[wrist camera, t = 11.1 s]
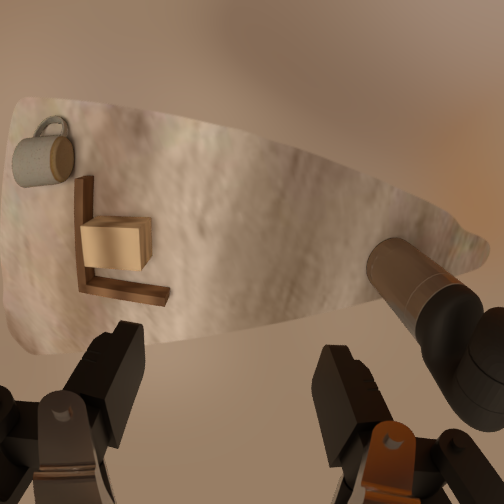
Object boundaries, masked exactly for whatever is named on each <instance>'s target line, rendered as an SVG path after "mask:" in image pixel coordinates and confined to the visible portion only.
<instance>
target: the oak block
mask: <svg viewBox="0 0 504 504" xmlns="http://www.w3.org/2000/svg"><path fill="white" fill-rule="evenodd" d="M80 228H81V239H82V249H83V257H84V265H85V267H97V268H109V269H121V270H134V271H142V269H143V268H144V266H145V265H146V264H147V262H148V261H149V259H150V258H151V257H152V236H151V218H149V217H119V216H97V217H95V218H93V219H91V220H90V221H88V222H86V223H85V224H83V225H82V226H80Z"/></svg>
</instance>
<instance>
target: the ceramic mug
mask: <svg viewBox="0 0 504 504" xmlns="http://www.w3.org/2000/svg"><path fill="white" fill-rule="evenodd" d="M50 123H59V124H60V123H62V132H61V135H60V136H58V135H53V136H46V137H40V135H41V133H42V131H43V130H44V128H45V127H46V126H47V125H48V124H50ZM66 136H67V124H66V122H65V121H64V120H63V119H62V118H61V117H58V116H50V117H48V118H46V119H44V120H43V121H42V122H41V123H40V124H39V126H38V127H37V129H36V131H35V133H34V135H33V138H26V139H23V140H21V141H20V142H19V143H18V145H17V146H16V148H15V151H14V154H13V158H12V172H13V176H14V179H15V181H16V182H17V184H18V185H20V186H21V187H24V188H27V187H35V186H43V185H54V184H58V183H62V182H64V181H66V180H67V178H68V177H69V176H70V174H71V171H72V168H73V163H74V153H73V148H72V145H71V143H70V141H69V140H68V139H67V138H66Z"/></svg>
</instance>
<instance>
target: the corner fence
mask: <svg viewBox="0 0 504 504" xmlns="http://www.w3.org/2000/svg"><path fill="white" fill-rule="evenodd" d="M93 183H94V176H82V177H79V178H76V179H75V187H74V224H75V249H76V265H77V277H78V287H79V292H82V293H87V294H92V295H98V296H103V297H108V298H114V299H120V300H126V301H131V302H137V303H144V304H150V305H156V306H163V307H165V305H166V303H167V300H168V298H169V293H170V288H168V287H161V286H155V285H148V284H141V283H135V282H128V281H122V280H116V279H110V278H103V277H98V276H95V273H94V267H85V265H84V257H83V249H82V239H81V228H80V226H82V225H83V224H85V223H86V222H88V221H90V220H91V219H93Z"/></svg>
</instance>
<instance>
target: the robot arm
mask: <svg viewBox="0 0 504 504" xmlns="http://www.w3.org/2000/svg"><path fill="white" fill-rule="evenodd" d="M367 276H368V279H369V281H370V282H371V284H372V285H373V286H374V287H375V288H376V290H377V291H378V292H379V294H380V295H381V296H382V297H383V299H384V300H385V301H386V302H387V303H388V305H389V306H390V307H391V308H392V310H393V311H394V312H395V313H396V315H397V316H398V317H399V318H400V320H401V321H402V323H403V324H404V325H405V327H406V328H407V329H408V330H409V331H410V333H411V334H412V335H413V337H414V338H415V339H416V341H417V342H418V343H419V345H420V346H421V352H422V357H423V360H424V362H425V364H426V366H427V368H428V369H429V371H430V372H431V374H432V376H433V378H434V379H435V381H436V383H437V385H438V386H439V388H440V390H441V391H442V393H443V395H444V397H445V399H446V400H447V402H448V404H449V405H450V406H451V408H452V409H453V411H454V412H455V413H456V414H457V415H458V416H459V418H460V419H461V420H462V421H464V422H465V423H466V424H468V425H469V426H470V427H472V428H474V429H476V430H479V431H483V432H495V431H499V430H501V429H502V428H504V308H503V307H495V308H491V309H489V310H488V311H486V312H485V313H484V310H483V305H482V302H481V301H480V298H479V297H478V296H477V295H476V294H475V293H474V292H473V291H472V290H471V289H469V288H468V287H467V286H465V285H464V284H463V283H462V282H460V281H459V280H458V279H456V278H455V277H454V276H453V275H451V274H450V273H449V272H447V271H446V270H445V269H443V268H442V267H441V266H439V265H438V264H437V263H435V262H434V261H433V260H431V259H430V258H429V257H427V256H426V255H425V254H423V253H422V252H420V251H419V250H418V249H416V248H415V247H414V246H412V245H411V244H409V243H408V242H407V241H405V240H403V239H399V238H391V239H388V240H385V241H383V242H382V243H380V244H379V245H378V246H377V247H376V248H375V249H374V250H373V251H372V253H371V255H370V257H369V259H368V262H367ZM144 369H145V348H144V329H143V325H142V324H139V323H133V322H128V321H122V320H121V321H120V322H119V323H118V325H117V326H116V328H115V330H114V331H113V333H107V332H104V333H102V334H101V335H99V336H98V337H96V338H95V339H93V341H92V343H91V344H90V346H89V347H88V349H87V352H85V354H84V355H83V357H82V360H80V362H79V363H78V365H77V366H76V368H75V370H74V372H73V373H72V375H71V376H70V378H69V380H68V381H67V383H66V385H65V386H64V388H63V390H60V391H54V392H51V393H49V394H47V395H46V396H44V397H43V398H42V400H41V401H40V402H26V401H15V400H14V398H13V396H12V394H11V392H10V391H9V390H8V389H7V388H5V387H3V386H1V385H0V504H18V502H19V501H20V499H21V497H22V496H23V494H24V492H25V491H26V489H27V488H28V486H29V485H30V483H31V481H32V480H33V488H34V496H35V504H117V503H116V499H115V496H114V493H113V489H112V485H111V482H110V478H109V474H108V470H107V466H106V462H105V459H104V455H105V452H106V449H107V447H108V446H109V447H113V448H117V449H118V448H119V445H120V442H121V439H122V436H123V433H124V429H125V427H126V424H127V420H128V418H129V415H130V411H131V409H132V406H133V403H134V400H135V397H136V395H137V392H138V389H139V386H140V383H141V381H142V378H143V374H144ZM311 389H312V397H313V401H314V405H315V409H316V412H317V417H318V420H319V425H320V429H321V433H322V437H323V441H324V445H325V450H326V454H327V458H328V462H329V467H330V468H331V467H342V469H343V475H342V476H341V477H340V479H339V482H338V485H337V488H336V491H335V494H334V497H333V500H332V502H331V504H452V503H451V501H450V500H449V498H448V496H447V495H446V493H445V492H444V490H443V488H442V487H443V486H444V485H445V484H446V483H447V484H448V485H449V487H450V489H451V490H452V492H453V493H454V495H455V497H456V498H457V500H458V501H459V503H460V504H504V482H503V481H502V479H501V478H500V476H499V475H498V474H497V472H496V471H495V469H494V468H493V467H492V466H491V464H490V463H489V461H488V460H487V458H486V457H485V456H484V454H483V453H482V452H481V450H480V449H479V448H478V446H477V445H476V444H475V442H474V441H473V440H472V438H471V437H470V436H469V435H468V434H467V433H465V432H464V431H461V430H459V429H448V430H445V431H444V432H443V433H442V434H441V435H440V437H439V438H438V439H427V438H418V437H415V435H414V433H413V432H412V431H411V430H410V428H408V427H407V426H406V425H404V424H402V423H400V422H397V421H394V420H393V418H392V416H391V414H390V412H389V410H388V407H387V405H386V403H385V401H384V399H383V397H382V395H381V393H380V391H378V387H377V384H376V382H374V378H373V376H372V374H371V372H370V370H369V369H368V368H367V367H366V366H365V365H364V364H363V363H362V362H361V361H360V360H354V359H353V357H352V355H351V352H350V351H349V348H348V347H347V346H346V345H345V346H344V345H325V346H324V347H323V349H322V352H321V355H320V358H319V361H318V364H317V367H316V370H315V373H314V376H313V379H312V387H311ZM38 470H39V471H38Z"/></svg>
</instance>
